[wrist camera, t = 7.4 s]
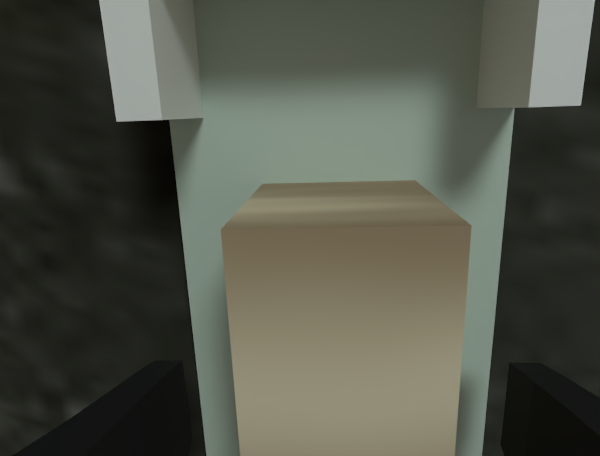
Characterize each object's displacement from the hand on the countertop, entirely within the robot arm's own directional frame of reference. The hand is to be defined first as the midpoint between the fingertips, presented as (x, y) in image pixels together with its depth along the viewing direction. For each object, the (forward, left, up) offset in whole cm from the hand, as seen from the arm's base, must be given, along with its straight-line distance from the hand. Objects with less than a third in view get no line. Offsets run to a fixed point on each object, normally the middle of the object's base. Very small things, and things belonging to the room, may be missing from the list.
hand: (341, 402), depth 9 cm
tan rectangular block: (-1, +1, -2) cm, 2 cm away
